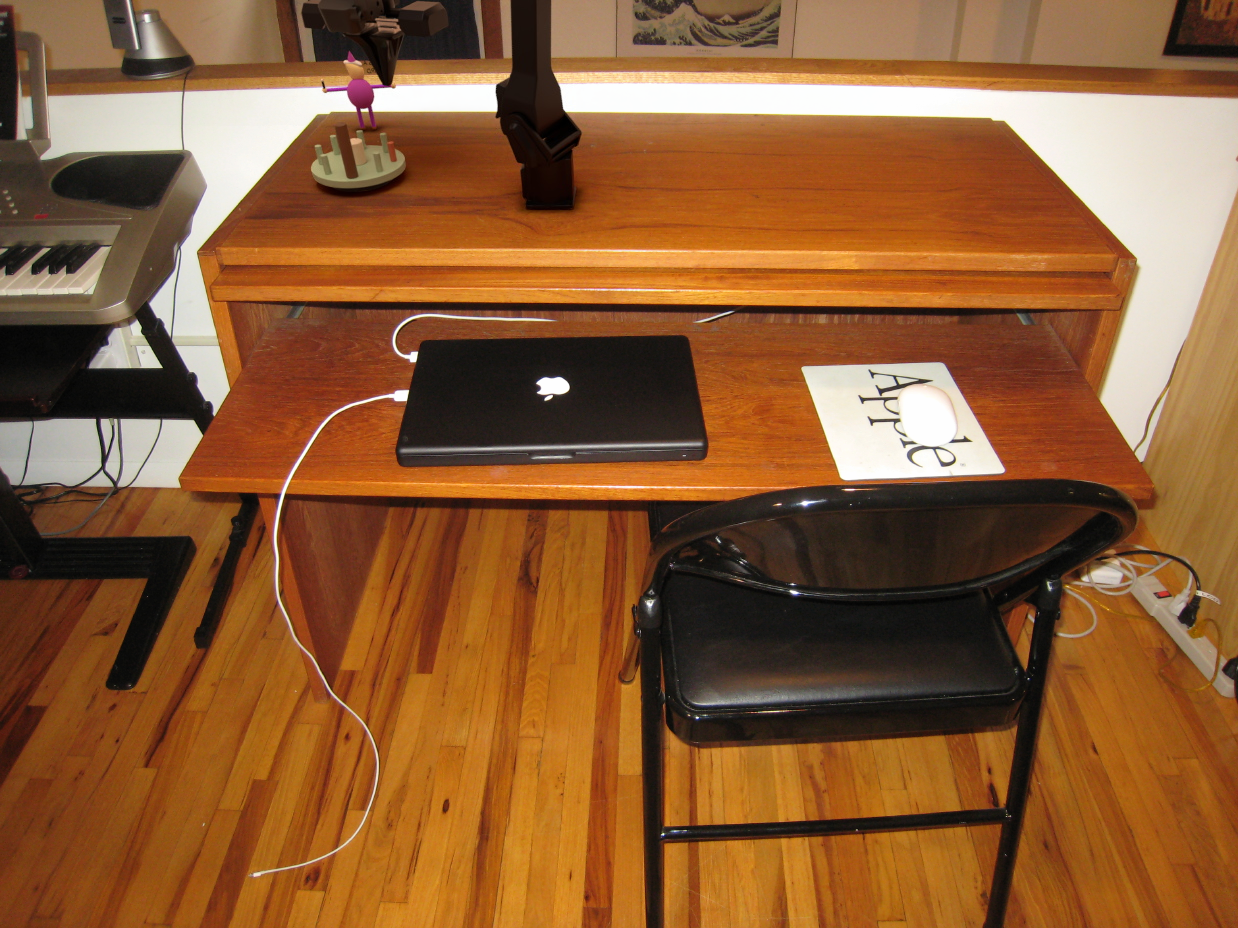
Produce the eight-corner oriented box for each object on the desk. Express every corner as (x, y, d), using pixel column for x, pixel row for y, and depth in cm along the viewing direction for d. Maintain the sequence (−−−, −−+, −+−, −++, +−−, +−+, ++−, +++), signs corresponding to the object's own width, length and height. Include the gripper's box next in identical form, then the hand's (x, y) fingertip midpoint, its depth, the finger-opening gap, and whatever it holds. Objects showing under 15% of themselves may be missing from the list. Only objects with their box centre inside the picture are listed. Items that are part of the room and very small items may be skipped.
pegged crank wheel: (322, 154, 121) (307, 97, 115) (410, 150, 122) (400, 93, 116) (304, 190, 111) (287, 130, 106) (400, 186, 112) (388, 126, 106)
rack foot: (400, 166, 121) (398, 159, 120) (385, 192, 114) (383, 184, 113) (339, 166, 121) (338, 159, 120) (321, 192, 114) (319, 184, 113)
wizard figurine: (403, 125, 133) (389, 45, 125) (403, 132, 131) (388, 51, 123) (333, 130, 132) (313, 50, 124) (331, 137, 130) (311, 56, 122)
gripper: (257, -37, 98) (294, 98, 108) (394, -30, 93) (419, 111, 104) (311, -55, 106) (341, 73, 116) (440, -49, 101) (459, 84, 111)
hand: (387, 85), depth 112 cm, fingers closed
